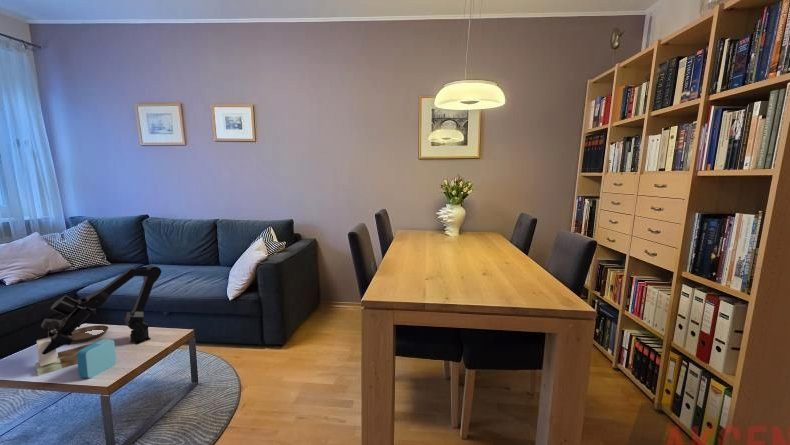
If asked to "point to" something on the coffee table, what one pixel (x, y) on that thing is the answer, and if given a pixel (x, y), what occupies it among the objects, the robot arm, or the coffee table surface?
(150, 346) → the coffee table surface
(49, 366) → the walnut channel
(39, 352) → the cream block
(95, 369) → the data package
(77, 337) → the plant saucer
